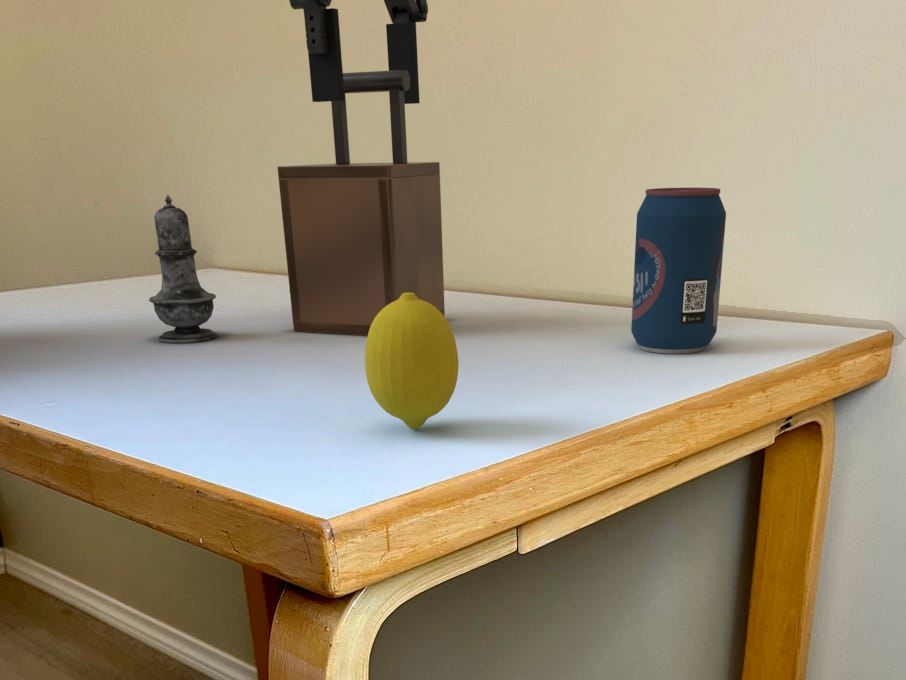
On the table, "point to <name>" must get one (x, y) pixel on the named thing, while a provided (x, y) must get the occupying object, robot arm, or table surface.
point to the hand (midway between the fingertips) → (369, 103)
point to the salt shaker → (180, 280)
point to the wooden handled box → (361, 225)
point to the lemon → (411, 360)
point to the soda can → (677, 269)
